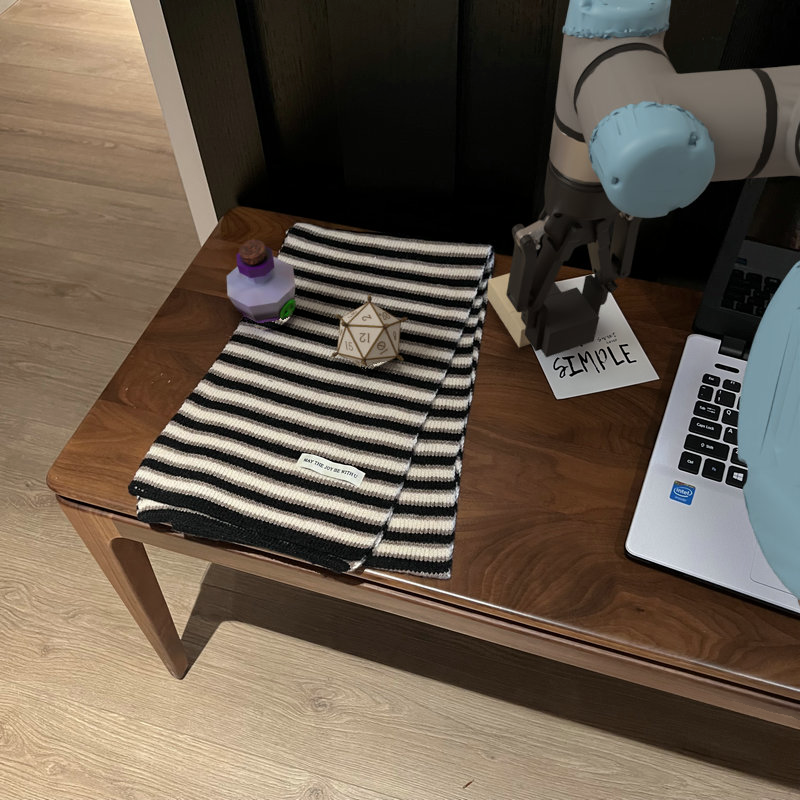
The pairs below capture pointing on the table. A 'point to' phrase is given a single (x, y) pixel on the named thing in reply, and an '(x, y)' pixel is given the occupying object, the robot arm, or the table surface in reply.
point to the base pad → (506, 309)
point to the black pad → (567, 321)
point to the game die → (369, 335)
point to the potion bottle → (261, 284)
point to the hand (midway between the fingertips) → (559, 332)
